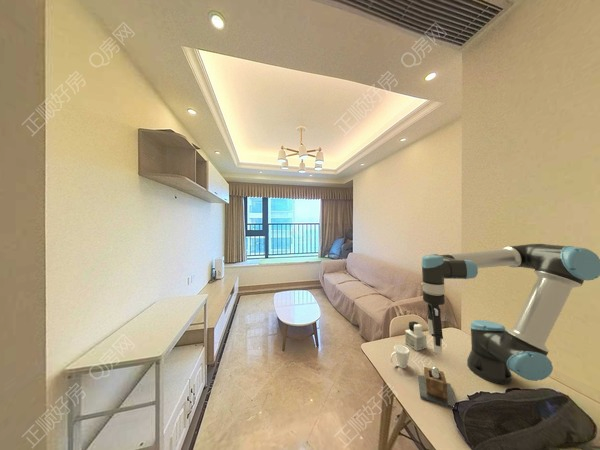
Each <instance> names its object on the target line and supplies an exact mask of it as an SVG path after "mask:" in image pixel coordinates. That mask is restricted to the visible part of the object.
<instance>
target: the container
mask: <svg viewBox="0 0 600 450" xmlns="http://www.w3.org/2000/svg"><path fill="white" fill-rule="evenodd" d="M404 333H405V334H404V335H405V337H404V339H405V344H406V345H407V344H408V346H409V347H410V346H411V348H412V349H413V348H414V349H413V350H415V351H417V352H418V351H421V350H425V349H427V347H428V346H427V345H428V343H427V342H428V341H427V334H426V333H424V332H423V325H422V324H421V323H419V322H417V321H412V320H411V321H409V322H408V329H405V331H404ZM424 348H425V349H424Z"/></svg>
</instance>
